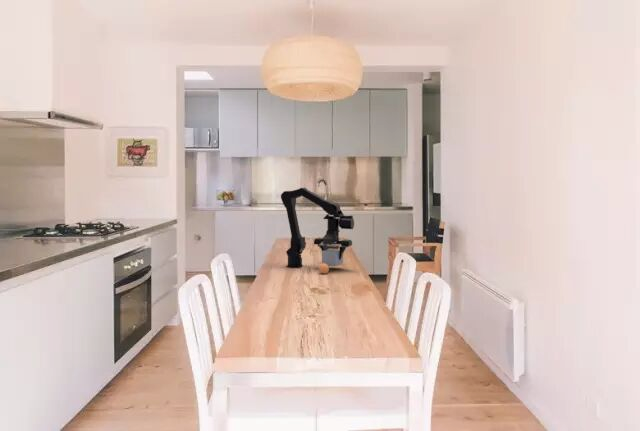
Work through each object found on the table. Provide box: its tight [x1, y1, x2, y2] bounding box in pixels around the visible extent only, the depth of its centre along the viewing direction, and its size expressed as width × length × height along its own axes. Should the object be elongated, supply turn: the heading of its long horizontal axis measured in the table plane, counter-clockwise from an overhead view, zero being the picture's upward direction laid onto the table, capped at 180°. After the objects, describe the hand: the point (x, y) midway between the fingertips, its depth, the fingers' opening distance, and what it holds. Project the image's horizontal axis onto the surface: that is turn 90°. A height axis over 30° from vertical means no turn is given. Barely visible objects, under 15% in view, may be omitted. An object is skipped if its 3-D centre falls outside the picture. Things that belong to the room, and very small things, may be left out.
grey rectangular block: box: [321, 248, 344, 267], centre depth 249 cm, size 8×10×7 cm
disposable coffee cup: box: [327, 242, 341, 249], centre depth 265 cm, size 10×10×12 cm
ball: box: [318, 263, 330, 275], centre depth 238 cm, size 5×5×5 cm
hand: (332, 259), depth 249 cm, fingers closed on grey rectangular block, 8 cm apart
